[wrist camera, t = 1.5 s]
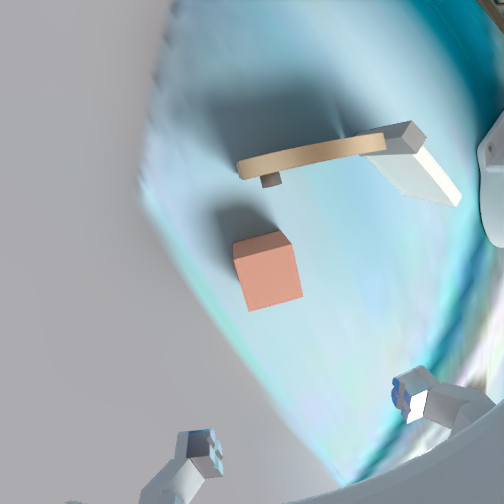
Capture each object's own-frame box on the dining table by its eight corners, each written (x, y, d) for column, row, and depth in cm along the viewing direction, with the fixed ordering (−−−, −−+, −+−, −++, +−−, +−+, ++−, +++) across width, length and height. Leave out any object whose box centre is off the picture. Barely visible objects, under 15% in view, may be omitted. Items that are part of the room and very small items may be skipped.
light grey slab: (357, 132, 24) (411, 120, 15) (410, 185, 25) (471, 195, 17) (348, 145, 24) (401, 137, 15) (402, 197, 26) (462, 211, 17)
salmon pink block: (232, 242, 26) (233, 260, 21) (280, 230, 26) (291, 244, 21) (245, 286, 27) (248, 311, 22) (290, 274, 27) (303, 296, 22)
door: (345, 140, 24) (383, 132, 17) (350, 163, 24) (389, 163, 17) (235, 164, 24) (238, 161, 17) (242, 189, 24) (247, 196, 17)
